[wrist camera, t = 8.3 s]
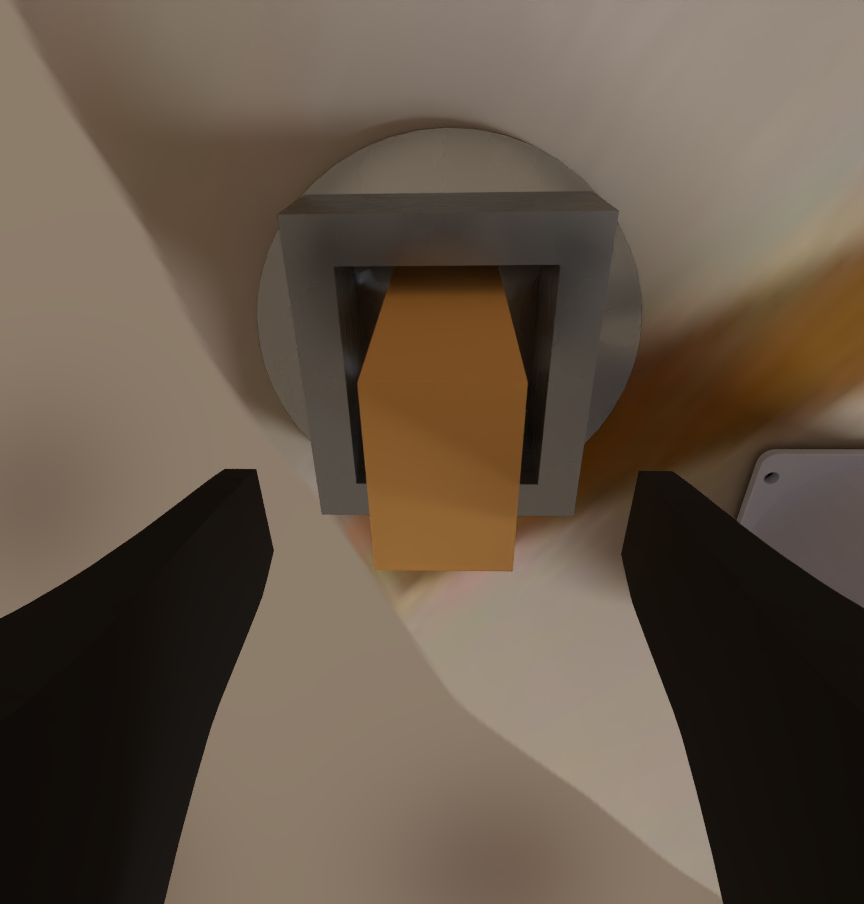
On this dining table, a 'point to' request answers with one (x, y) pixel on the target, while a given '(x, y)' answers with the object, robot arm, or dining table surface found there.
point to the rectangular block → (443, 421)
